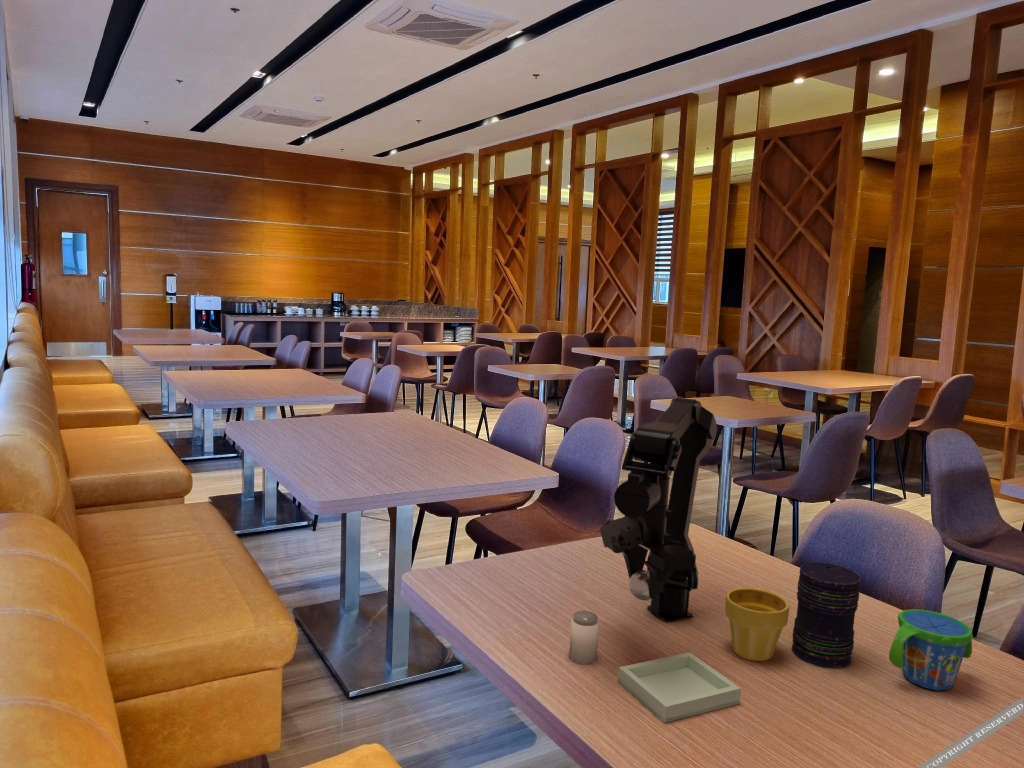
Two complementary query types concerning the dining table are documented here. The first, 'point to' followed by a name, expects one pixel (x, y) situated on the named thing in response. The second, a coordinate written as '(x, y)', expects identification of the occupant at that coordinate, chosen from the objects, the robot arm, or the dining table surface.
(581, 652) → the shaker
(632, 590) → the ball
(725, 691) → the tray
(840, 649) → the storage jar
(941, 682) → the snack cup
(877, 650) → the dining table surface
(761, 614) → the plant pot
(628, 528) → the robot arm
